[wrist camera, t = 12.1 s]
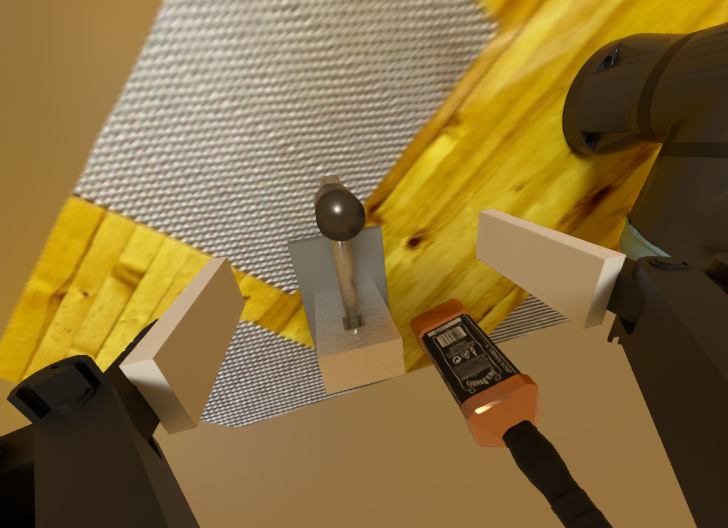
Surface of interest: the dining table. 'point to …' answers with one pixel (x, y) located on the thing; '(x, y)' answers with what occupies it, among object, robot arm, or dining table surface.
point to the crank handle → (341, 237)
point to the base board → (320, 270)
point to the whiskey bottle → (501, 407)
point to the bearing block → (356, 341)
